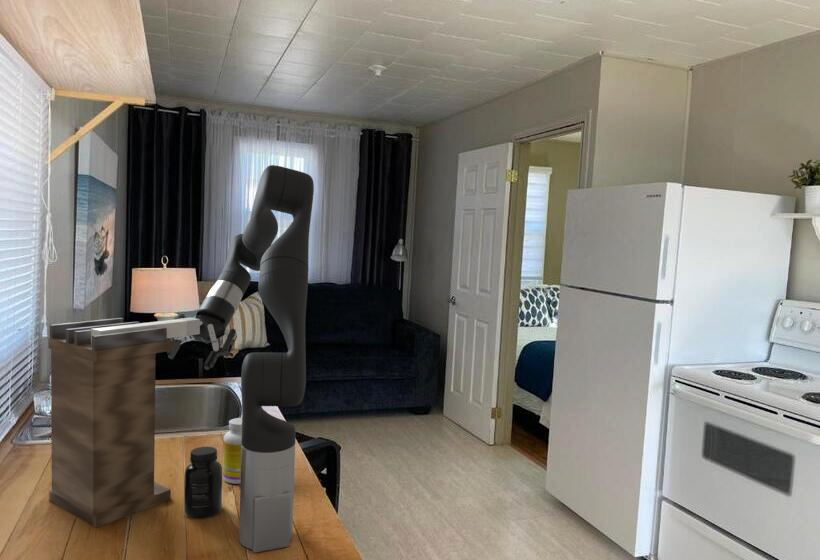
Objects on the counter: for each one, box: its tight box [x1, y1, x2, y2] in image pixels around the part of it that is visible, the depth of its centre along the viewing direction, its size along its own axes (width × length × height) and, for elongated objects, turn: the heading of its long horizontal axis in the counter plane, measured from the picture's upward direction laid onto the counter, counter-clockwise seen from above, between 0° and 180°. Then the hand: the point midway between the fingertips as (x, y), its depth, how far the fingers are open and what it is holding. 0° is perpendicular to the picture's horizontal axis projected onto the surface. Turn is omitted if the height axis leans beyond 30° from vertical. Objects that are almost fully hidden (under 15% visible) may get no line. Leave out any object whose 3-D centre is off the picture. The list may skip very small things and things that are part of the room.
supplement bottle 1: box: [183, 446, 223, 520], centre depth 117 cm, size 7×7×12 cm
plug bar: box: [91, 317, 200, 345], centre depth 119 cm, size 21×3×3 cm, turn 146°
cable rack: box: [47, 317, 173, 528], centre depth 119 cm, size 15×17×34 cm
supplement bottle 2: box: [222, 417, 242, 485], centre depth 132 cm, size 7×7×13 cm
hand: (187, 362), depth 134 cm, fingers open, 8 cm apart
